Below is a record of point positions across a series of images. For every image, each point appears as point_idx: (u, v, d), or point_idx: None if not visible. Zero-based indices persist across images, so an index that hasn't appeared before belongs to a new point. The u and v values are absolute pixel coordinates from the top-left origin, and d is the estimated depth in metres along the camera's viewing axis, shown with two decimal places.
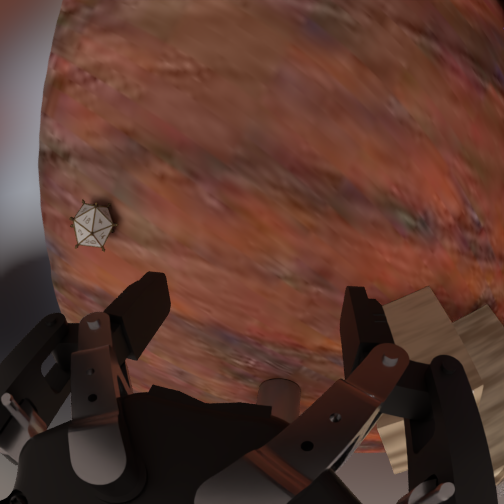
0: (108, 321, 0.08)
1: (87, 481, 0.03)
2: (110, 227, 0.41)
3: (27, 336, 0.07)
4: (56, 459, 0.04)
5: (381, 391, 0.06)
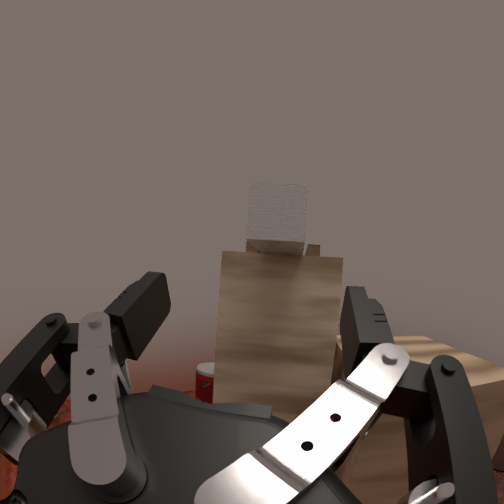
0: (108, 321, 0.08)
1: (87, 481, 0.03)
2: None
3: (27, 336, 0.07)
4: (56, 459, 0.04)
5: (381, 391, 0.06)
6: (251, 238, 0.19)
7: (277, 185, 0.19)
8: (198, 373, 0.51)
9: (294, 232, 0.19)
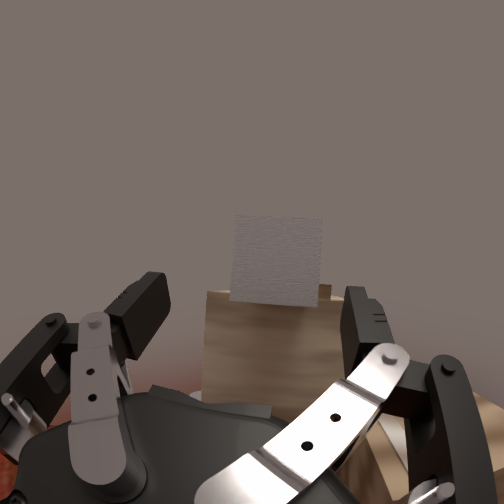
0: (108, 321, 0.08)
1: (87, 481, 0.03)
2: None
3: (27, 336, 0.07)
4: (56, 459, 0.04)
5: (381, 391, 0.06)
6: (238, 300, 0.13)
7: (277, 220, 0.13)
8: None
9: (302, 293, 0.12)
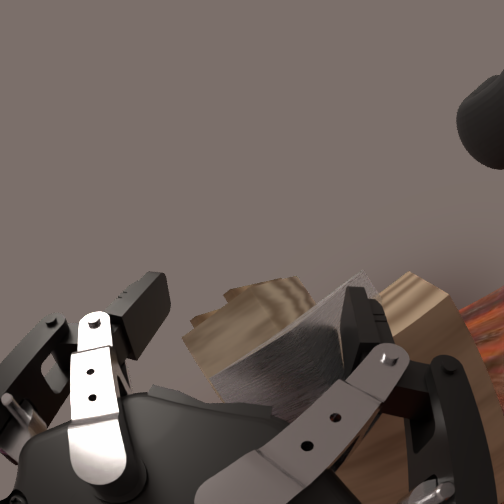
0: (108, 321, 0.08)
1: (87, 481, 0.03)
2: None
3: (27, 336, 0.07)
4: (56, 459, 0.04)
5: (381, 391, 0.06)
6: None
7: (247, 362, 0.09)
8: None
9: None
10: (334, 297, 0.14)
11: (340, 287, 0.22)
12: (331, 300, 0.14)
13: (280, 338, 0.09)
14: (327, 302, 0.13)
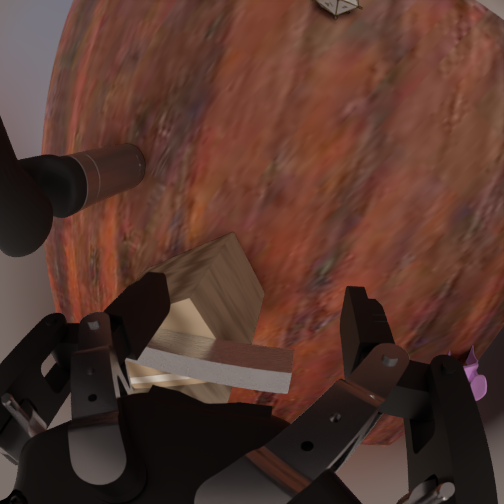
0: (108, 321, 0.08)
1: (87, 481, 0.03)
2: (333, 12, 0.30)
3: (27, 336, 0.07)
4: (56, 459, 0.04)
5: (381, 391, 0.06)
6: None
7: (289, 383, 0.30)
8: None
9: None
10: (233, 364, 0.30)
11: (171, 359, 0.32)
12: (240, 365, 0.30)
13: None
14: (247, 367, 0.30)
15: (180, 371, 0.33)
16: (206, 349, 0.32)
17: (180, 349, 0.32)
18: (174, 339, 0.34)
